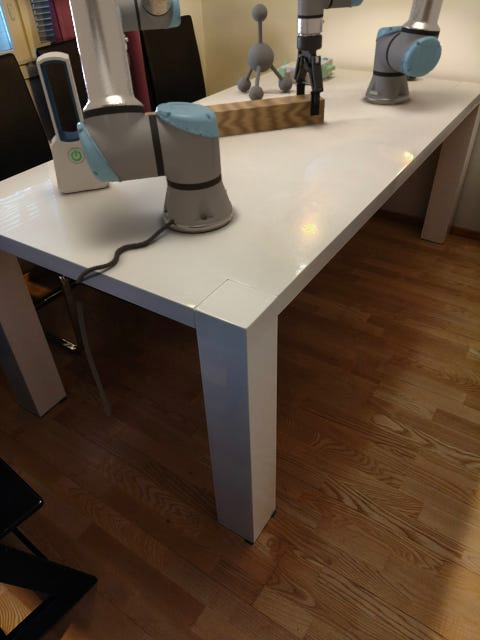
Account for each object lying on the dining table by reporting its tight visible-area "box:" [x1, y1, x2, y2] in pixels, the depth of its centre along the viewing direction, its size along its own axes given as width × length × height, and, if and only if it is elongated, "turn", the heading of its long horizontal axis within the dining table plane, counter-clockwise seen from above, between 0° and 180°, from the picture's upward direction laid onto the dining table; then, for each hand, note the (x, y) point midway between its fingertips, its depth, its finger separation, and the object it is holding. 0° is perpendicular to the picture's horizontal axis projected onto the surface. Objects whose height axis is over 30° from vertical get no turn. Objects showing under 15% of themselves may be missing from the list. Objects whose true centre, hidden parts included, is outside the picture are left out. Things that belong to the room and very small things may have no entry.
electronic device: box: [35, 51, 110, 194], centre depth 116 cm, size 12×8×30 cm, turn 105°
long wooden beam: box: [145, 93, 326, 138], centre depth 153 cm, size 66×8×7 cm, turn 104°
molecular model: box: [237, 3, 293, 101], centre depth 180 cm, size 24×22×30 cm
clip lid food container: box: [277, 57, 336, 85], centre depth 206 cm, size 26×6×20 cm
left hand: (128, 131), depth 148 cm, fingers open, 13 cm apart
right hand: (307, 109), depth 157 cm, fingers open, 13 cm apart
